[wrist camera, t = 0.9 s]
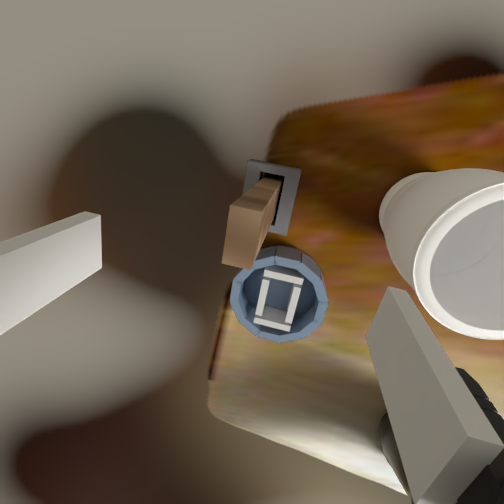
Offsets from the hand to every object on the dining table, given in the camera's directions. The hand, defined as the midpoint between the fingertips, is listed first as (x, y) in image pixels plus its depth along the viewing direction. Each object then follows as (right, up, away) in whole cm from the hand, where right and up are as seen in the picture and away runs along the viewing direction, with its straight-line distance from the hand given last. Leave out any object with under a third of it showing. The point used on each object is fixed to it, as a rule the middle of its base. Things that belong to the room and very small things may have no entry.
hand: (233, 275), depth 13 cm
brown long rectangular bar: (+3, +8, +20) cm, 22 cm away
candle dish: (+4, -3, +24) cm, 24 cm away
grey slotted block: (+3, +8, +20) cm, 22 cm away
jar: (+19, +5, +18) cm, 27 cm away
